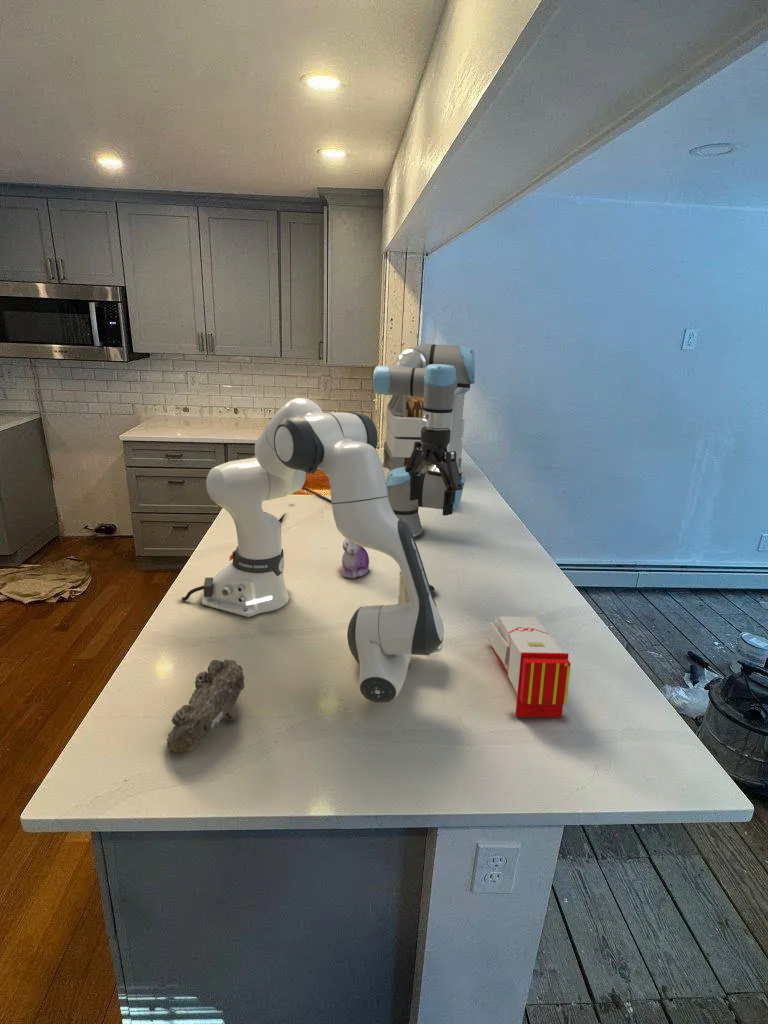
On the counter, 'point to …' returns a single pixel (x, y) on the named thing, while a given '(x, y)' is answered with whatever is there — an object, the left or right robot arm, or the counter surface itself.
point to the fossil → (206, 705)
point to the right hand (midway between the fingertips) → (430, 506)
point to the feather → (281, 518)
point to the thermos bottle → (402, 592)
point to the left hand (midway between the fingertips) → (403, 614)
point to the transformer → (405, 430)
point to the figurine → (354, 560)
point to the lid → (432, 590)
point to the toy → (531, 665)
